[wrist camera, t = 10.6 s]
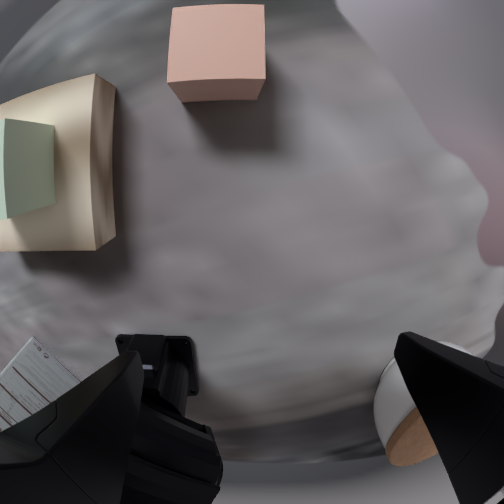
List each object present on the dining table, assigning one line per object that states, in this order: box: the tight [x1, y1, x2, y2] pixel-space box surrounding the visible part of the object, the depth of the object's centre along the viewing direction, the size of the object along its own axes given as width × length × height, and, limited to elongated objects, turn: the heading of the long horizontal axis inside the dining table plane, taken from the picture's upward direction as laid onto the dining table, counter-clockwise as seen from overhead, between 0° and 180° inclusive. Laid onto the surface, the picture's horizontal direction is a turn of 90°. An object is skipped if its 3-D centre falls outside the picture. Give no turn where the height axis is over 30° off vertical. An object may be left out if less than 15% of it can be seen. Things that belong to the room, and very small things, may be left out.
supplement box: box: [0, 337, 80, 432], centre depth 16 cm, size 7×7×13 cm
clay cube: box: [167, 4, 266, 102], centre depth 14 cm, size 5×5×5 cm
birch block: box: [0, 74, 116, 251], centre depth 15 cm, size 11×11×4 cm
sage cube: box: [0, 118, 56, 220], centre depth 11 cm, size 5×5×5 cm
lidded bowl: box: [373, 341, 477, 466], centre depth 20 cm, size 13×13×11 cm
